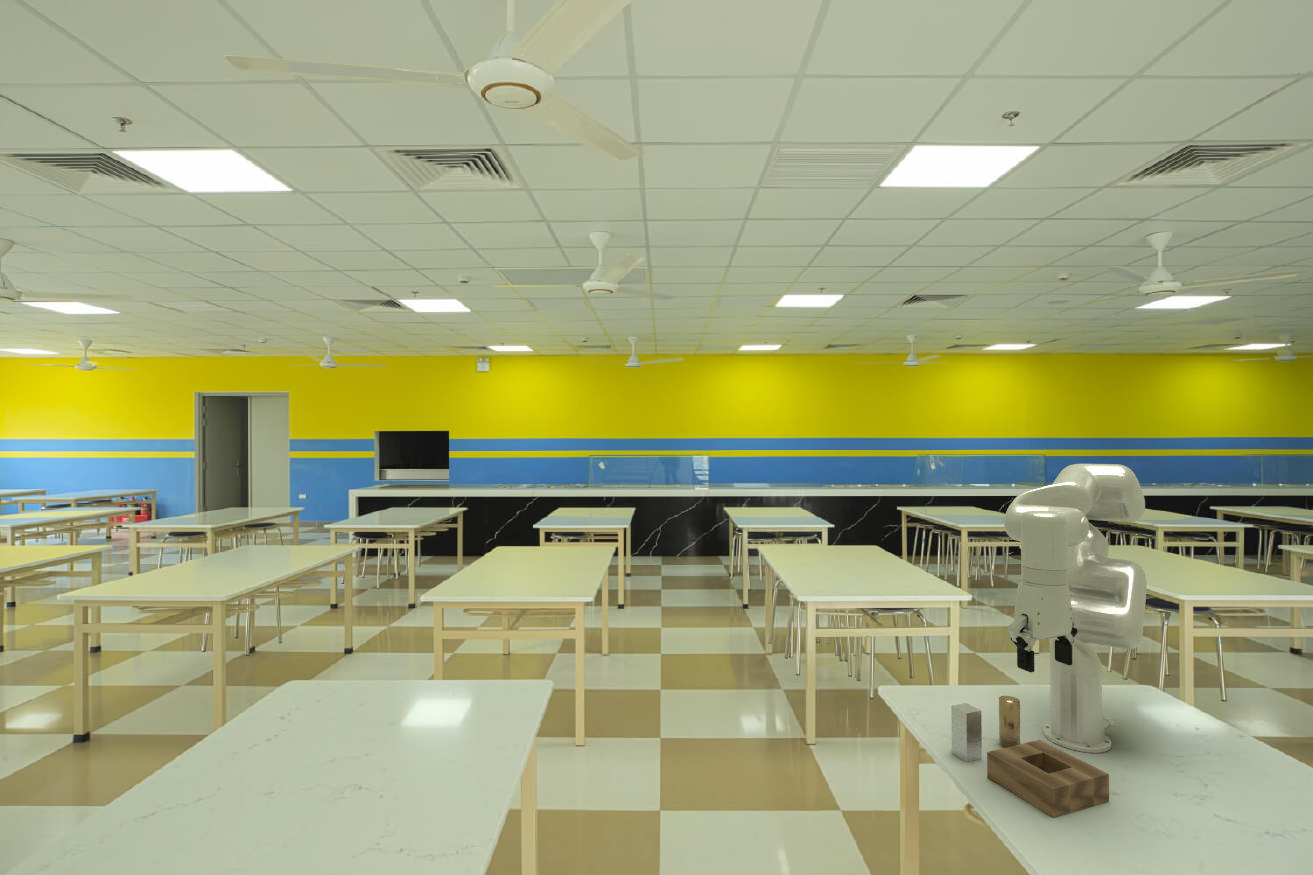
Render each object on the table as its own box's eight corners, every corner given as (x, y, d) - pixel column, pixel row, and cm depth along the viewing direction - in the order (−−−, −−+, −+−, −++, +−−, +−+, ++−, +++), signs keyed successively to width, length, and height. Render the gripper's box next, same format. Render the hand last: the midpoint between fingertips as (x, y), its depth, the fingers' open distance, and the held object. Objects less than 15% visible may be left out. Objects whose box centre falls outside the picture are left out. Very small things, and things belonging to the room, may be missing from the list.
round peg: (1008, 739, 140) (1008, 694, 140) (1024, 748, 136) (1024, 701, 136) (994, 742, 139) (994, 697, 139) (1010, 751, 135) (1010, 704, 135)
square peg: (966, 749, 136) (966, 702, 136) (981, 758, 132) (981, 710, 132) (951, 752, 135) (951, 705, 135) (966, 761, 131) (966, 713, 131)
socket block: (1039, 764, 130) (1039, 739, 130) (1109, 801, 116) (1108, 773, 116) (987, 777, 125) (987, 752, 125) (1053, 817, 112) (1052, 789, 112)
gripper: (1058, 568, 127) (1059, 654, 127) (992, 576, 121) (993, 665, 121) (1095, 576, 120) (1096, 667, 120) (1027, 584, 114) (1028, 680, 114)
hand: (1044, 666), depth 121 cm, fingers open, 9 cm apart
